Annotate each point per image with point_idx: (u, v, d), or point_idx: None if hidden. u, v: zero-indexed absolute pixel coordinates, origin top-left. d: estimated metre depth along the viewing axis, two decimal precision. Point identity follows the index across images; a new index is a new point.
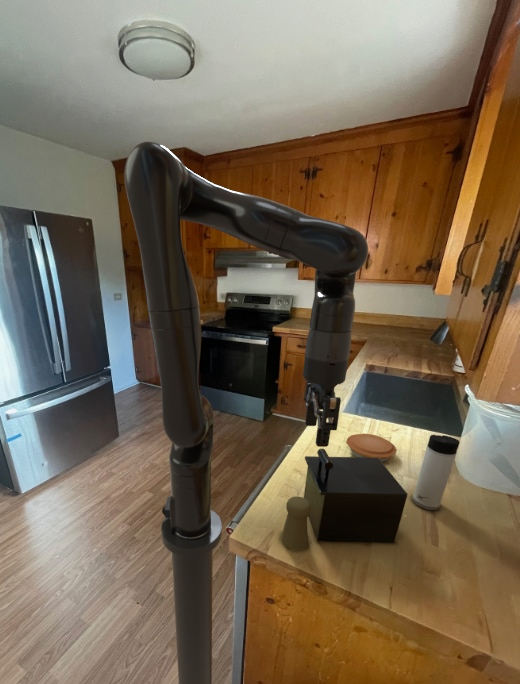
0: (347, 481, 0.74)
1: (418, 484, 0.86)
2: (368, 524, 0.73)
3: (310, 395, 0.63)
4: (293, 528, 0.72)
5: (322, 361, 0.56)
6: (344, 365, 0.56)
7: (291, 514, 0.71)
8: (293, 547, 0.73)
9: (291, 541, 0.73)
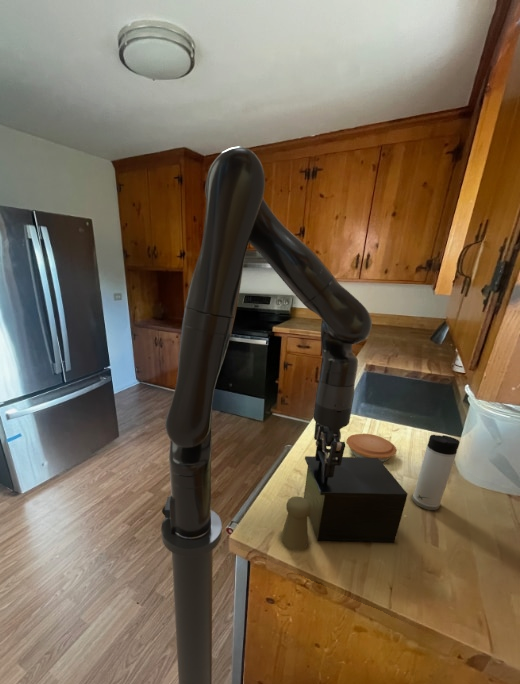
0: (347, 481, 0.74)
1: (418, 484, 0.86)
2: (368, 524, 0.73)
3: (319, 433, 0.74)
4: (293, 528, 0.72)
5: (330, 409, 0.67)
6: (348, 412, 0.68)
7: (291, 514, 0.71)
8: (293, 547, 0.73)
9: (291, 541, 0.73)
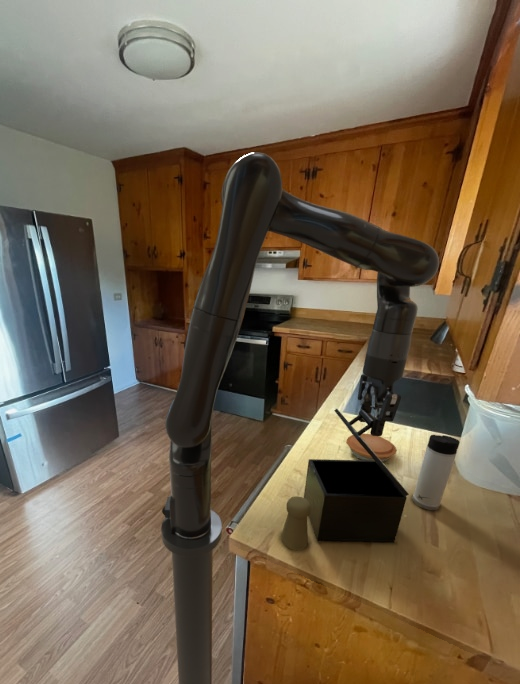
0: None
1: (418, 484, 0.86)
2: (368, 524, 0.73)
3: (367, 390, 0.70)
4: (293, 528, 0.72)
5: (385, 359, 0.63)
6: (404, 363, 0.64)
7: (291, 514, 0.71)
8: (293, 547, 0.73)
9: (291, 541, 0.73)
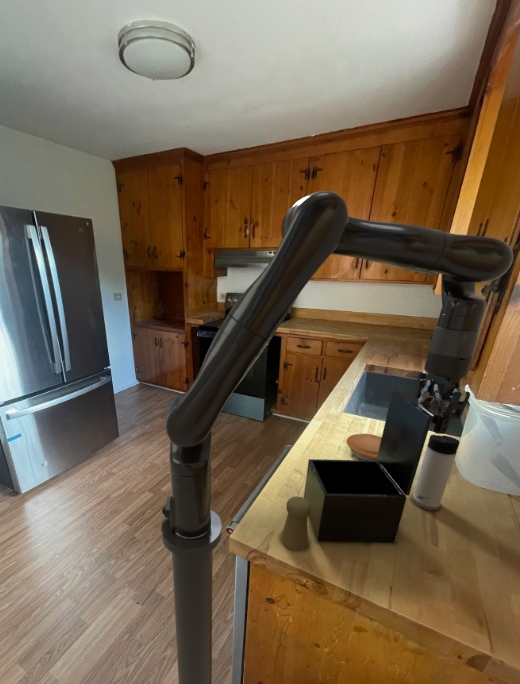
0: None
1: (418, 484, 0.86)
2: (368, 524, 0.73)
3: (429, 388, 0.70)
4: (293, 528, 0.72)
5: (452, 356, 0.63)
6: (471, 360, 0.64)
7: (291, 514, 0.71)
8: (293, 547, 0.73)
9: (291, 541, 0.73)
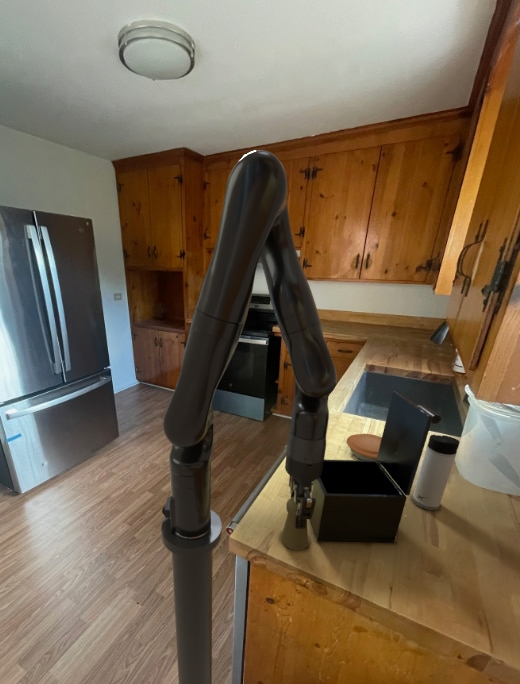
0: None
1: (418, 484, 0.86)
2: (368, 524, 0.73)
3: (292, 482, 0.71)
4: (293, 528, 0.72)
5: (300, 462, 0.64)
6: (320, 464, 0.65)
7: (291, 514, 0.71)
8: (293, 547, 0.73)
9: (291, 541, 0.73)
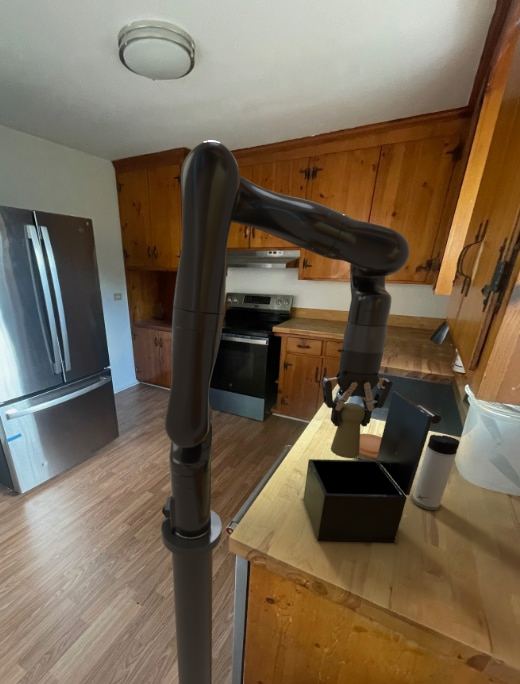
0: None
1: (418, 484, 0.86)
2: (368, 524, 0.73)
3: None
4: None
5: (342, 346, 0.66)
6: (351, 355, 0.62)
7: None
8: (331, 446, 0.73)
9: (333, 440, 0.73)
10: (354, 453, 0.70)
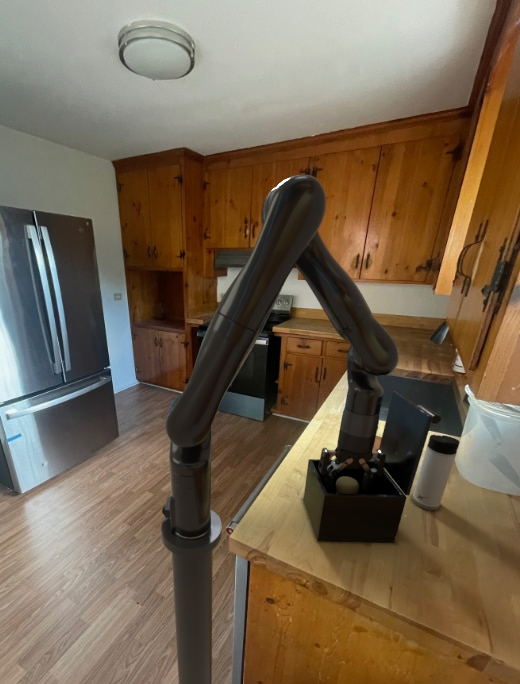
0: None
1: (418, 484, 0.86)
2: (368, 524, 0.73)
3: None
4: None
5: (340, 425, 0.74)
6: (348, 437, 0.71)
7: None
8: None
9: None
10: None
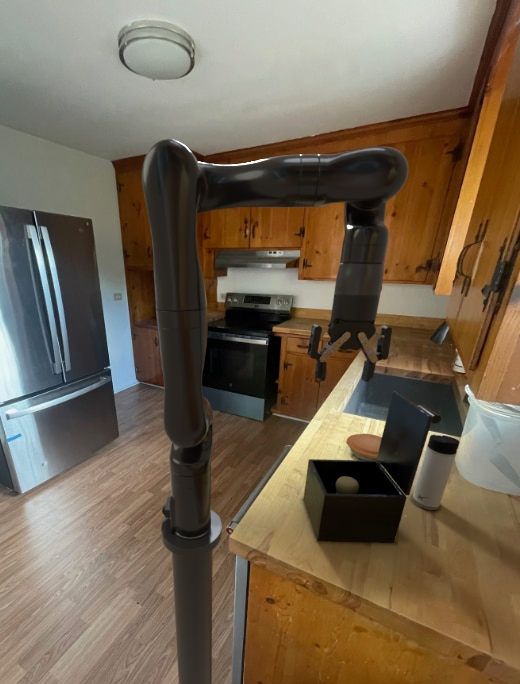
0: None
1: (418, 484, 0.86)
2: (368, 524, 0.73)
3: None
4: None
5: None
6: (344, 299, 0.55)
7: None
8: None
9: None
10: None
